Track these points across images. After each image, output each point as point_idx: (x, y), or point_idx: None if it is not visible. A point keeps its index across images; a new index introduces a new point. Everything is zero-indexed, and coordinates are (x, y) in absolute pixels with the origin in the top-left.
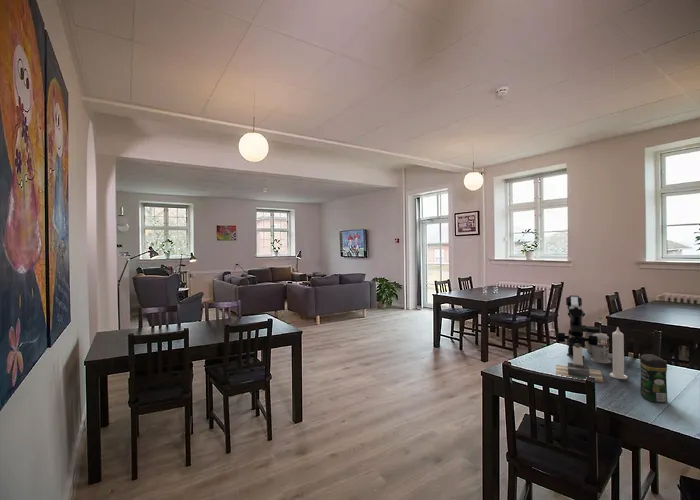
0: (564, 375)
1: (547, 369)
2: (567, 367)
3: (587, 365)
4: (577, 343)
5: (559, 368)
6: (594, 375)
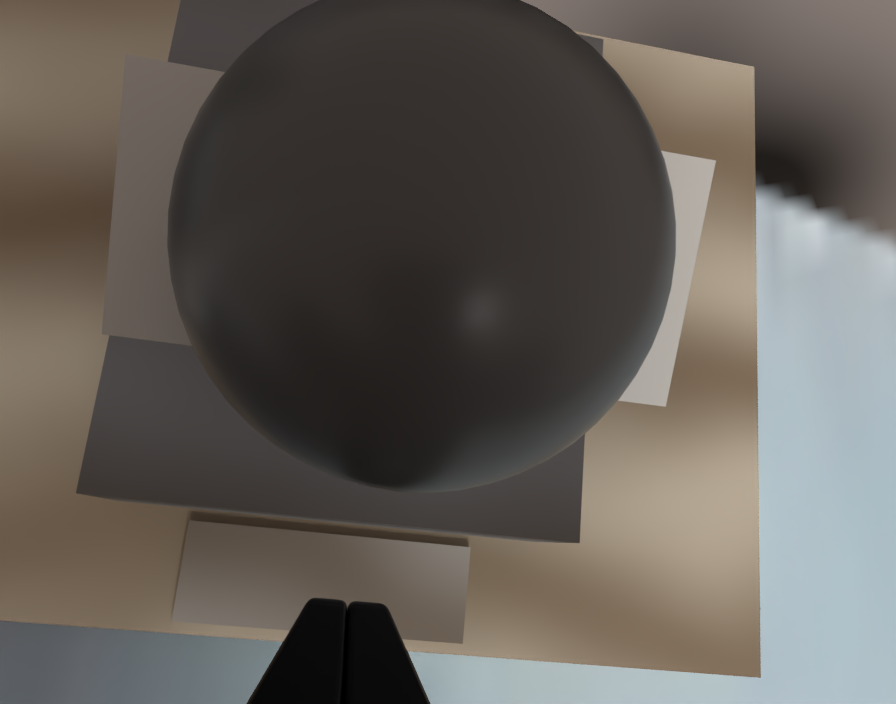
0: (624, 46)
1: (868, 415)
2: (537, 559)
3: (109, 402)
4: (482, 14)
5: (694, 424)
6: (72, 178)
